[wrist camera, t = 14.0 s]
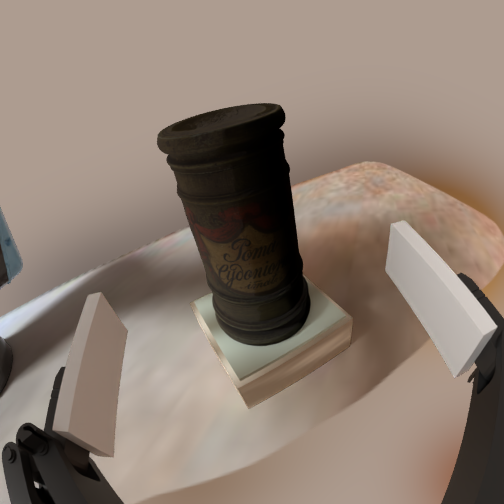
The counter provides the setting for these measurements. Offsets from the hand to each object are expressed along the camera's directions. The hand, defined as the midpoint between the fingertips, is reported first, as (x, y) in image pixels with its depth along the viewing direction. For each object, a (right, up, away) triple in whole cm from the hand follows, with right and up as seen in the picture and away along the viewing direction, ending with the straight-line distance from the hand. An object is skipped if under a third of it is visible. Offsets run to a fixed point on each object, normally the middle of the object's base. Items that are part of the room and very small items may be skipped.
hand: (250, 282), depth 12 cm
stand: (+2, -8, +18) cm, 20 cm away
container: (+1, -4, +16) cm, 16 cm away
